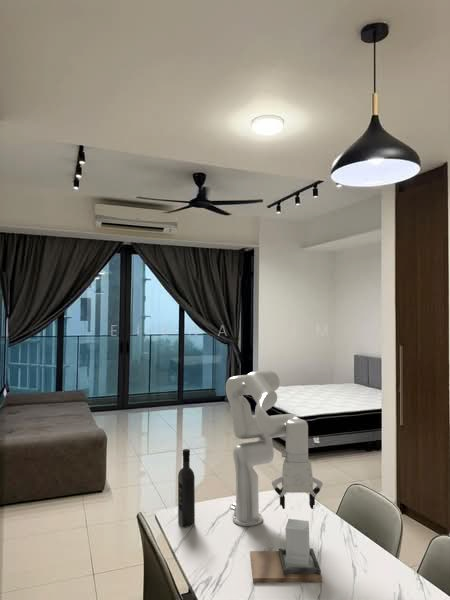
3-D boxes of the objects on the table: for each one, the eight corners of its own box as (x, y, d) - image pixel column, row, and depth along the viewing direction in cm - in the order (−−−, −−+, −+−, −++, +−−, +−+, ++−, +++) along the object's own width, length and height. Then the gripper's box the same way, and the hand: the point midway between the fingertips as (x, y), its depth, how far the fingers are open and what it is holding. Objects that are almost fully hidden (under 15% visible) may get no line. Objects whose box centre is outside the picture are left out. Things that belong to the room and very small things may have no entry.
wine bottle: (183, 528, 171) (182, 453, 172) (177, 522, 176) (177, 449, 177) (195, 524, 174) (195, 450, 175) (189, 519, 178) (189, 447, 180)
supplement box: (310, 558, 146) (309, 520, 146) (308, 570, 138) (307, 530, 139) (288, 554, 148) (288, 517, 148) (285, 566, 140) (285, 527, 141)
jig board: (253, 583, 135) (252, 573, 135) (250, 555, 151) (250, 546, 151) (322, 582, 135) (321, 572, 135) (311, 554, 151) (311, 546, 151)
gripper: (272, 460, 141) (273, 512, 140) (324, 460, 141) (325, 512, 140) (270, 452, 148) (270, 502, 148) (319, 452, 148) (320, 502, 148)
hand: (297, 507), depth 144 cm, fingers open, 9 cm apart
